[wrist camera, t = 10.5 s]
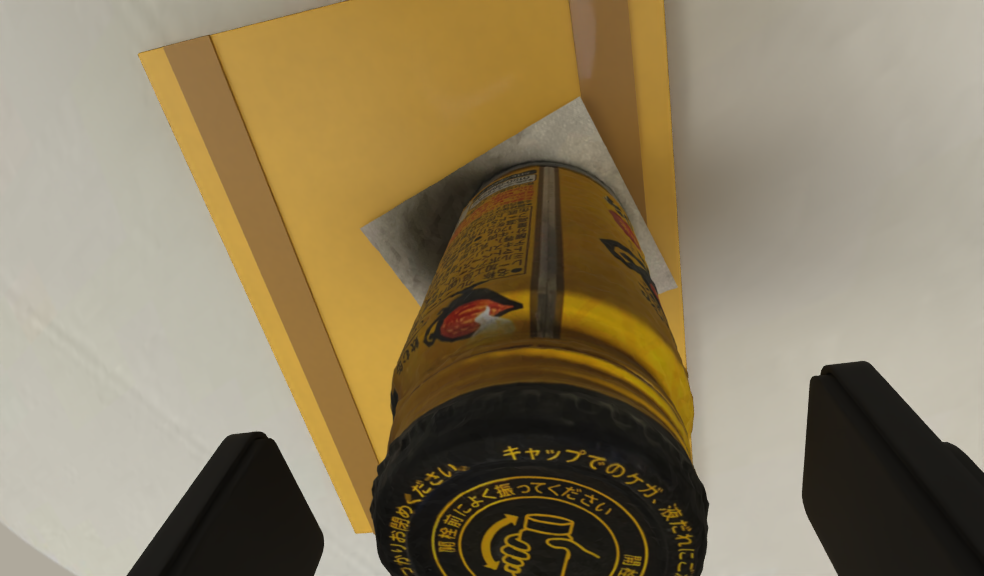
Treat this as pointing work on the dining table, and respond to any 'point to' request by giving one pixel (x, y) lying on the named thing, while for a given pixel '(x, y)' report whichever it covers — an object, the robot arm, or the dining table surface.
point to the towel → (393, 166)
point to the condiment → (536, 374)
